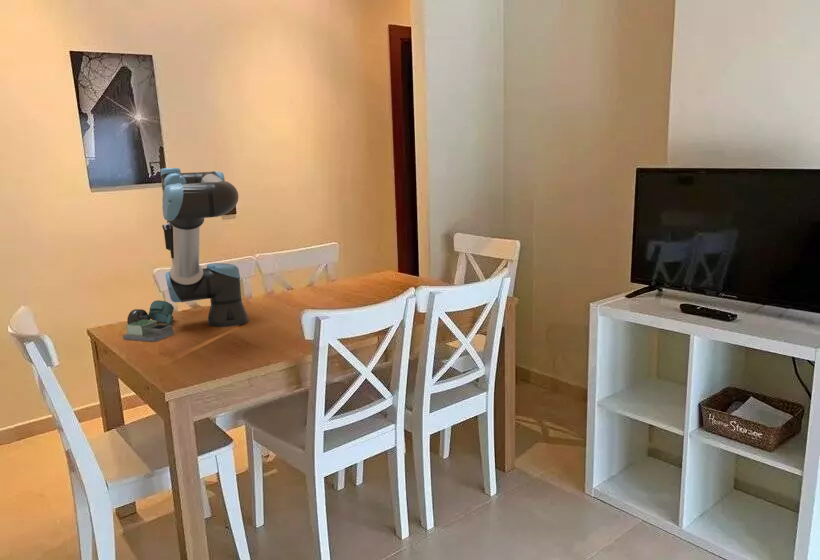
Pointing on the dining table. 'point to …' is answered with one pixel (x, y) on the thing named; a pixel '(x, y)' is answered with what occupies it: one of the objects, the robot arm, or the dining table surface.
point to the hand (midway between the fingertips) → (180, 264)
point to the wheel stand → (137, 316)
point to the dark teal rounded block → (161, 312)
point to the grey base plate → (147, 331)
